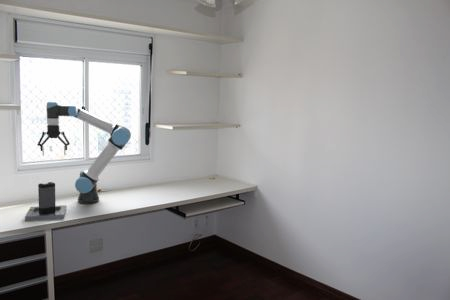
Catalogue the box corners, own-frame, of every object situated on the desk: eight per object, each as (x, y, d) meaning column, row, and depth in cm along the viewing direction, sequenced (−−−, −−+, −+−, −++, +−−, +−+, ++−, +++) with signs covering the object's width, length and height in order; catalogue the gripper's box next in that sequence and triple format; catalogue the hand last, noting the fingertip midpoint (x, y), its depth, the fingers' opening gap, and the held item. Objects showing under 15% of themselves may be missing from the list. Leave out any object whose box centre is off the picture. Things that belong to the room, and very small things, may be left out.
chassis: (66, 209, 260) (66, 204, 259) (63, 219, 239) (63, 213, 239) (30, 211, 253) (30, 205, 252) (25, 221, 232) (24, 215, 232)
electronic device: (52, 211, 251) (51, 181, 249) (56, 213, 248) (56, 183, 245) (37, 214, 244) (37, 183, 241) (42, 216, 240) (41, 185, 238)
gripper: (72, 124, 266) (73, 154, 269) (33, 124, 257) (34, 155, 260) (72, 125, 259) (73, 155, 262) (32, 125, 250) (33, 156, 253)
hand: (54, 155), depth 261 cm, fingers open, 13 cm apart
